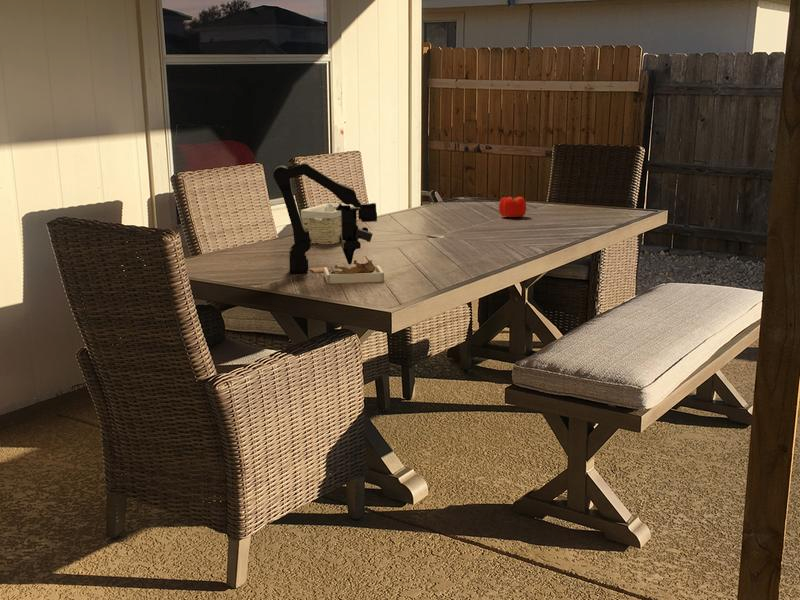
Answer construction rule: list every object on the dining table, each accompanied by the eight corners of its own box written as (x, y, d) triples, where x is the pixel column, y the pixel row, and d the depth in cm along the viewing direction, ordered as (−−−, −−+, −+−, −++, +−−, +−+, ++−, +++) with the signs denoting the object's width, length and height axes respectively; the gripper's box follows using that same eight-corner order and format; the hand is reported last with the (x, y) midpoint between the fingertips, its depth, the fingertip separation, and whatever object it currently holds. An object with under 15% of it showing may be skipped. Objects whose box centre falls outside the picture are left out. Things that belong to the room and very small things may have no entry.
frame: (327, 283, 336) (326, 275, 336) (324, 275, 350) (323, 267, 349) (384, 281, 339) (384, 273, 338) (378, 273, 353) (378, 265, 352)
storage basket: (332, 245, 410) (331, 211, 407) (299, 243, 417) (298, 209, 414) (358, 237, 431) (358, 204, 428) (326, 235, 438) (326, 202, 435)
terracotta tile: (314, 274, 354) (314, 271, 354) (309, 271, 360) (309, 268, 360) (330, 273, 357) (329, 269, 356) (324, 270, 362) (324, 266, 362)
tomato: (526, 215, 491) (526, 195, 489) (525, 219, 479) (526, 198, 476) (499, 215, 493) (499, 195, 491) (498, 219, 480) (498, 198, 478)
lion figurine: (364, 253, 354) (376, 261, 347) (366, 265, 356) (378, 274, 349) (329, 266, 348) (341, 275, 341) (331, 279, 350) (343, 288, 343)
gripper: (374, 225, 346) (374, 268, 349) (367, 217, 364) (368, 258, 367) (343, 226, 344) (344, 269, 348) (338, 218, 362) (339, 259, 366)
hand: (349, 264), depth 357 cm, fingers closed
